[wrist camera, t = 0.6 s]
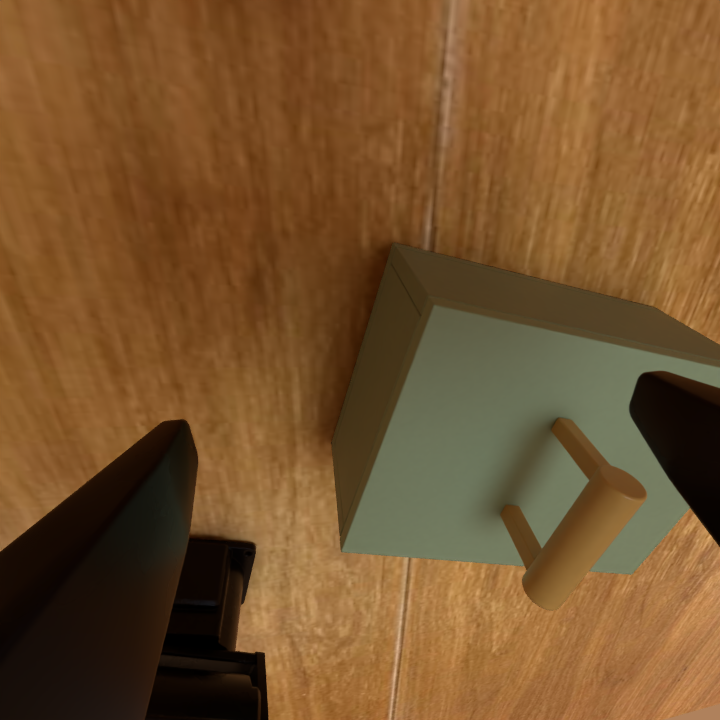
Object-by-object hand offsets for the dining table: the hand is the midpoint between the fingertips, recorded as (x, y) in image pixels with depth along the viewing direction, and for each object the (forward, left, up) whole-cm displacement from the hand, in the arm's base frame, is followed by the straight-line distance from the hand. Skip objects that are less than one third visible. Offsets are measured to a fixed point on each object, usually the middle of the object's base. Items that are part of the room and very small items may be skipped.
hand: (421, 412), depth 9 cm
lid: (-6, -10, -7) cm, 14 cm away
